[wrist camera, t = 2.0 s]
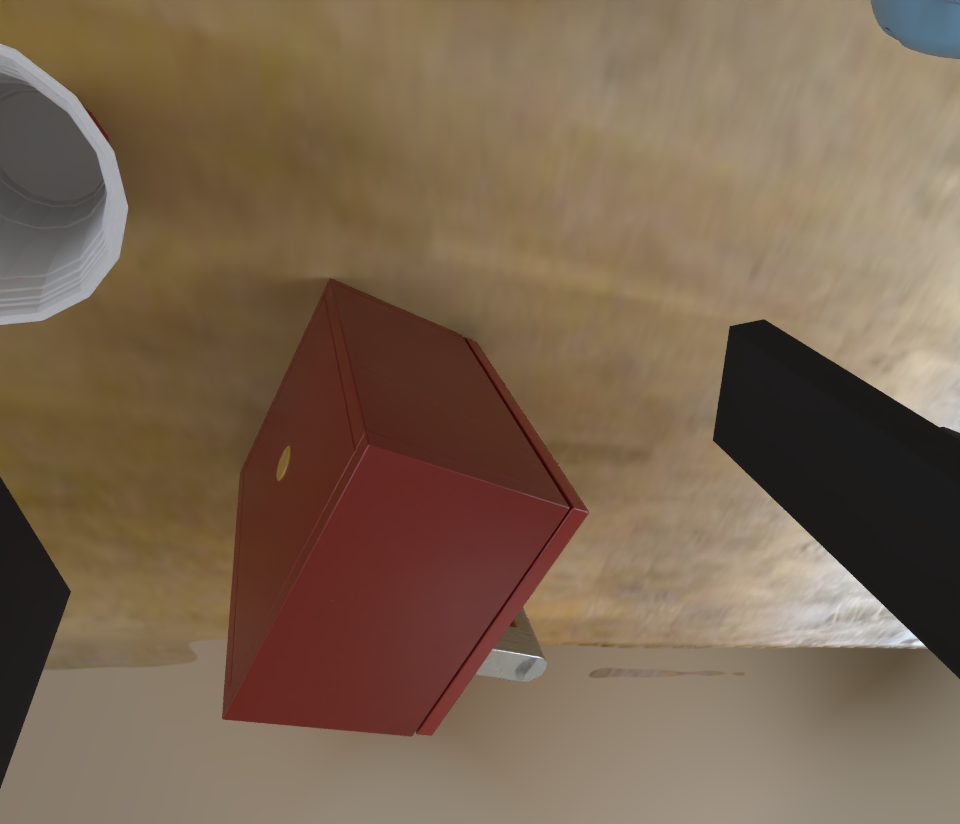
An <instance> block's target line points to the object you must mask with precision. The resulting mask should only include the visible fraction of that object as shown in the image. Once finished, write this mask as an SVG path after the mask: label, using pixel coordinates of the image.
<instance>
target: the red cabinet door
mask: <svg viewBox="0 0 960 824" xmlns="http://www.w3.org/2000/svg"><path fill="white" fill-rule="evenodd" d="M465 341H466V343H467V345H468V346H469V348H470V349H471V351H472V353H473V354H474V356H475V357H476V359H477V361H478V362H479V364H480V365H481V367H482V369H483V370H484V372H485V373H486V375H487V377H488V378H489V380H490V381H491V383H492V385H493V386H494V388H495V389H496V391H497V393H498V394H499V396H500V397H501V399H502V401H503V402H504V404H505V405H506V407H507V409H508V410H509V412H510V413H511V415H512V416H513V418H514V420H515V421H516V423H517V424H518V426H519V428H520V429H521V431H522V432H523V434H524V436H525V437H526V439H527V440H528V442H529V444H530V445H531V447H532V448H533V450H534V452H535V453H536V455H537V456H538V458H539V460H540V461H541V463H542V464H543V466H544V468H545V469H546V471H547V472H548V474H549V476H550V477H551V479H552V480H553V482H554V484H555V485H556V487H557V488H558V490H559V492H560V493H561V495H562V496H563V498H564V499H565V501H566V502H567V504H568V506H569V507H570V508H569V510H568V512H567V513H566V514H565V516H564V517H563V519H562V520H561V522H560V523H559V525H558V526H557V527H556V529H555V530H554V532H553V533H552V535H551V536H550V538H549V539H548V540H547V542H546V543H545V545H544V546H543V548H542V549H541V551H540V552H539V554H538V555H537V556H536V558H535V559H534V561H533V562H532V564H531V565H530V567H529V568H528V569H527V571H526V572H525V574H524V575H523V577H522V578H521V580H520V581H519V583H518V584H517V585H516V587H515V588H514V590H513V591H512V593H511V594H510V596H509V597H508V598H507V600H506V601H505V603H504V604H503V606H502V607H501V609H500V610H499V611H498V613H497V614H496V616H495V617H494V619H493V620H492V622H491V623H490V625H489V626H488V627H487V629H486V630H485V632H484V633H483V635H482V636H481V638H480V639H479V640H478V642H477V643H476V645H475V646H474V648H473V649H472V651H471V652H470V653H469V655H468V656H467V658H466V659H465V661H464V662H463V664H462V665H461V667H460V668H459V669H458V671H457V672H456V674H455V675H454V677H453V678H452V680H451V681H450V682H449V684H448V685H447V687H446V688H445V690H444V691H443V693H442V694H441V696H440V697H439V698H438V700H437V701H436V703H435V704H434V706H433V707H432V709H431V710H430V711H429V713H428V714H427V716H426V717H425V719H424V720H423V722H422V723H421V724H420V726H419V727H418V729H417V730H416V734H418V735H429V736H431V735H433V733H434V732H435V731H436V729H437V728H438V726H439V725H440V724H441V722H442V721H443V719H444V718H445V716H446V715H447V714H448V712H449V711H450V709H451V708H452V707H453V705H454V704H455V702H456V701H457V699H458V698H459V697H460V695H461V694H462V692H463V691H464V689H465V688H466V687H467V685H468V684H469V682H470V681H471V680H472V678H473V677H474V675H481V676H488V677H495V678H501V679H508V680H515V681H522V682H526V681H531V680H534V679H536V678H538V677H539V676H541V675H542V674H543V673H544V671H545V670H546V668H547V661H546V659H545V657H544V654H543V652H542V650H541V648H540V645H539V643H538V641H537V638H536V636H535V634H534V631H533V629H532V627H531V625H530V622H529V620H528V618H527V615H526V613H525V611H524V608H523V606H524V604H525V603H526V602H527V600H528V599H529V597H530V596H531V595H532V593H533V592H534V590H535V589H536V587H537V586H538V585H539V583H540V582H541V580H542V579H543V578H544V576H545V575H546V573H547V572H548V570H549V569H550V568H551V566H552V565H553V563H554V562H555V561H556V559H557V558H558V556H559V555H560V553H561V552H562V551H563V549H564V548H565V546H566V545H567V544H568V542H569V541H570V539H571V538H572V536H573V535H574V534H575V532H576V531H577V529H578V528H579V527H580V525H581V524H582V522H583V521H584V519H585V518H586V517H587V515H588V514H589V511H588V510H587V508H586V507H585V505H584V504H583V502H582V501H581V499H580V497H579V496H578V494H577V493H576V491H575V490H574V488H573V487H572V485H571V484H570V482H569V481H568V479H567V478H566V476H565V475H564V473H563V472H562V470H561V469H560V467H559V466H558V464H557V463H556V461H555V460H554V458H553V457H552V455H551V454H550V452H549V451H548V449H547V448H546V446H545V445H544V443H543V442H542V440H541V439H540V437H539V435H538V434H537V432H536V431H535V429H534V428H533V426H532V425H531V423H530V422H529V420H528V419H527V417H526V416H525V414H524V413H523V411H522V410H521V408H520V407H519V405H518V404H517V402H516V401H515V399H514V398H513V396H512V395H511V393H510V392H509V390H508V389H507V387H506V386H505V384H504V383H503V381H502V380H501V378H500V377H499V375H498V374H497V372H496V370H495V369H494V367H493V366H492V364H491V363H490V361H489V360H488V358H487V357H486V355H485V354H484V352H483V351H482V349H481V348H480V346H479V345H478V343H477V342H475V341H473V340H471V339H468V338H465Z"/></svg>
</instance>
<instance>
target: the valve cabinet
mask: <svg viewBox="0 0 960 824" xmlns="http://www.w3.org/2000/svg"><path fill="white" fill-rule="evenodd" d="M287 446H291V456H290V460H289V464H288V467H287V469H286V472H285V474H284V476H283V477H282V479H281V480H280V481H278V480H277V478H276V473H277V468H278V464H279V461H280V458H281V456H282V453H283V451H284V450H285V448H286V447H287ZM569 508H570V507H569V506H568V504H567V502H566V501H565V499H564V498H563V496H562V495H561V493H560V492H559V490H558V488H557V487H556V485H555V484H554V482H553V480H552V479H551V477H550V476H549V474H548V472H547V471H546V469H545V468H544V466H543V464H542V463H541V461H540V460H539V458H538V456H537V455H536V453H535V452H534V450H533V448H532V447H531V445H530V444H529V442H528V440H527V439H526V437H525V436H524V434H523V432H522V431H521V429H520V428H519V426H518V424H517V423H516V421H515V420H514V418H513V416H512V415H511V413H510V412H509V410H508V409H507V407H506V405H505V404H504V402H503V401H502V399H501V397H500V396H499V394H498V393H497V391H496V389H495V388H494V386H493V385H492V383H491V381H490V380H489V378H488V377H487V375H486V373H485V372H484V370H483V369H482V367H481V365H480V364H479V362H478V361H477V359H476V357H475V356H474V354H473V353H472V351H471V349H470V348H469V346H468V345H467V343H466V341H465V340H464V338H463V337H462V335H460V334H458V333H456V332H453V331H451V330H449V329H447V328H444V327H442V326H440V325H437V324H435V323H433V322H430V321H428V320H426V319H423V318H421V317H419V316H416V315H414V314H412V313H410V312H407V311H405V310H403V309H400V308H398V307H396V306H393V305H391V304H389V303H386V302H384V301H382V300H380V299H377V298H375V297H373V296H370V295H368V294H366V293H363V292H361V291H359V290H356V289H354V288H352V287H349V286H347V285H345V284H343V283H340V282H338V281H336V280H333V279H331V278H330V279H329V281H328V283H327V285H326V287H325V290H324V292H323V294H322V296H321V298H320V300H319V303H318V305H317V307H316V309H315V311H314V313H313V316H312V318H311V320H310V322H309V324H308V326H307V329H306V331H305V333H304V335H303V337H302V340H301V342H300V344H299V346H298V348H297V350H296V353H295V355H294V357H293V359H292V361H291V363H290V366H289V368H288V370H287V372H286V374H285V377H284V379H283V381H282V383H281V385H280V387H279V390H278V392H277V394H276V396H275V398H274V400H273V403H272V405H271V407H270V409H269V411H268V414H267V416H266V418H265V420H264V422H263V424H262V427H261V429H260V431H259V433H258V435H257V437H256V440H255V442H254V444H253V446H252V448H251V451H250V453H249V455H248V457H247V459H246V461H245V464H244V466H243V468H242V470H241V472H240V481H239V494H238V508H237V521H236V535H235V548H234V562H233V576H232V589H231V603H230V616H229V630H228V643H227V657H226V671H225V685H224V698H223V700H224V701H223V713H222V719H224V720H235V721H246V722H258V723H268V724H279V725H291V726H302V727H312V728H323V729H334V730H346V731H356V732H368V733H378V734H389V735H400V736H413V735H414V733H415V732H416V730H417V729H418V727H419V726H420V724H421V723H422V722H423V720H424V719H425V717H426V716H427V714H428V713H429V711H430V710H431V709H432V707H433V706H434V704H435V703H436V701H437V700H438V698H439V697H440V696H441V694H442V693H443V691H444V690H445V688H446V687H447V685H448V684H449V682H450V681H451V680H452V678H453V677H454V675H455V674H456V672H457V671H458V669H459V668H460V667H461V665H462V664H463V662H464V661H465V659H466V658H467V656H468V655H469V653H470V652H471V651H472V649H473V648H474V646H475V645H476V643H477V642H478V640H479V639H480V638H481V636H482V635H483V633H484V632H485V630H486V629H487V627H488V626H489V625H490V623H491V622H492V620H493V619H494V617H495V616H496V614H497V613H498V611H499V610H500V609H501V607H502V606H503V604H504V603H505V601H506V600H507V598H508V597H509V596H510V594H511V593H512V591H513V590H514V588H515V587H516V585H517V584H518V583H519V581H520V580H521V578H522V577H523V575H524V574H525V572H526V571H527V569H528V568H529V567H530V565H531V564H532V562H533V561H534V559H535V558H536V556H537V555H538V554H539V552H540V551H541V549H542V548H543V546H544V545H545V543H546V542H547V540H548V539H549V538H550V536H551V535H552V533H553V532H554V530H555V529H556V527H557V526H558V525H559V523H560V522H561V520H562V519H563V517H564V516H565V514H566V513H567V512H568V510H569Z"/></svg>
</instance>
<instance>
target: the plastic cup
mask: <svg viewBox="0 0 960 824" xmlns="http://www.w3.org/2000/svg"><path fill="white" fill-rule="evenodd" d="M127 213H128V204H127V200H126V196H125V193H124V189H123V185H122V181H121V177H120V173H119V169H118V165H117V161H116V157H115V153H114V151H113V149H112V148H111V146H110V144H109V140H108V136H107V135H106V133H105V132H104V130H103V129H102V127H101V126H100V125H99V123H98V122H97V120H96V119H95V117H94V116H93V115H92V113H91V112H90V111H88V110H87V109H86V108H84V107H83V106H82V104H81V103H80V101H79V100H78V98H77V97H76V96H75V95H74V94H73V93H71V92H70V91H69V90H68V89H66V88H65V87H64V86H62V85H61V84H60V83H59V82H57V81H56V80H55V79H53V78H52V77H51V76H49V75H48V74H47V73H46V72H44V71H43V70H42V69H40V68H39V67H38V66H37V65H35V64H34V63H33V62H31V61H30V60H29V59H27V58H26V57H25V56H24V55H22V54H21V53H20V52H18V51H17V50H16V49H13V48H10V47H8V46H5V45H2V44H0V325H4V324H14V323H24V322H34V321H43V320H45V319H47V318H49V317H51V316H53V315H55V314H57V313H59V312H61V311H63V310H65V309H66V308H68V307H70V306H72V305H74V304H76V303H78V302H80V301H82V300H84V299H86V298H88V297H90V295H91V294H92V293H93V292H94V290H95V289H96V288H97V286H98V285H99V284H100V282H101V281H102V280H103V278H104V277H105V276H106V275H107V273H108V272H109V271H110V269H111V268H112V267H113V265H114V264H115V263H116V262H117V260H118V259H119V257H120V251H121V246H122V240H123V235H124V229H125V224H126V218H127Z"/></svg>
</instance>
